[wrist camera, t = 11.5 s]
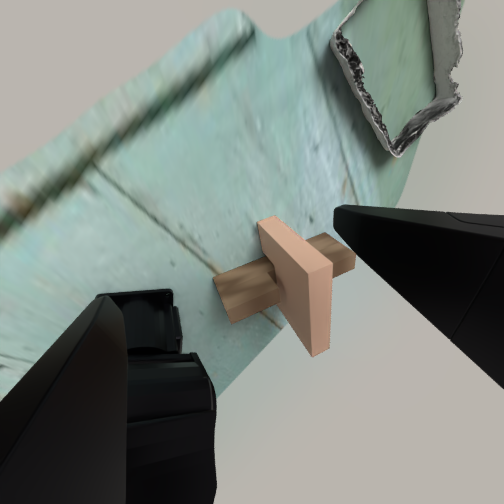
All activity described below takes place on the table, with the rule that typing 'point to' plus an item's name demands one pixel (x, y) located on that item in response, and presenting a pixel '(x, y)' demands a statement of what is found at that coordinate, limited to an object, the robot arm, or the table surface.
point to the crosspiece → (300, 283)
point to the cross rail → (271, 279)
